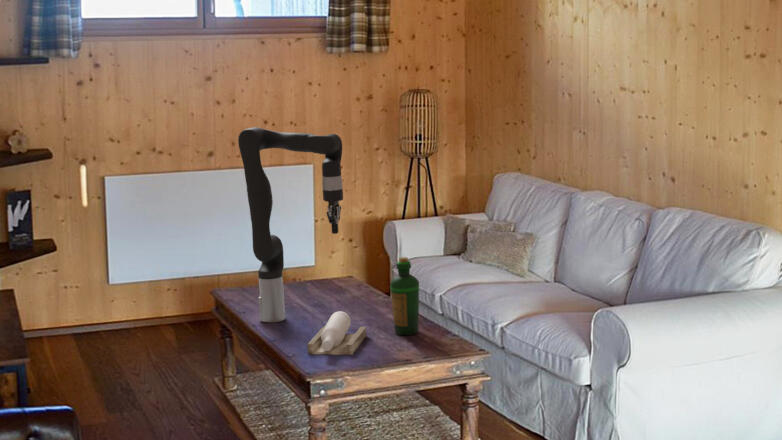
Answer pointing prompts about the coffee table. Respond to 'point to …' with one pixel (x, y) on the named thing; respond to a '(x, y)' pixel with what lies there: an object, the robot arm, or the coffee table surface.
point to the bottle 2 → (405, 299)
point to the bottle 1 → (335, 330)
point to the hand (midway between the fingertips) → (335, 233)
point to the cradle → (345, 348)
